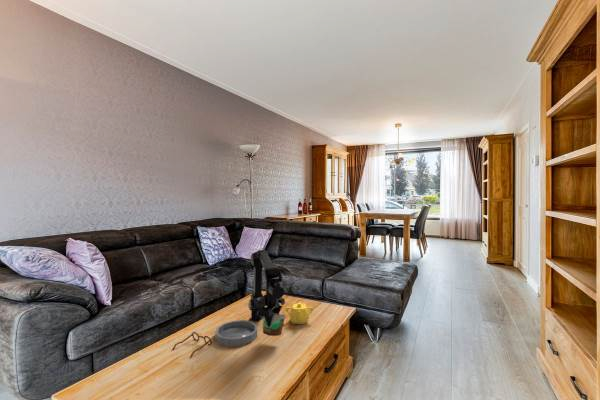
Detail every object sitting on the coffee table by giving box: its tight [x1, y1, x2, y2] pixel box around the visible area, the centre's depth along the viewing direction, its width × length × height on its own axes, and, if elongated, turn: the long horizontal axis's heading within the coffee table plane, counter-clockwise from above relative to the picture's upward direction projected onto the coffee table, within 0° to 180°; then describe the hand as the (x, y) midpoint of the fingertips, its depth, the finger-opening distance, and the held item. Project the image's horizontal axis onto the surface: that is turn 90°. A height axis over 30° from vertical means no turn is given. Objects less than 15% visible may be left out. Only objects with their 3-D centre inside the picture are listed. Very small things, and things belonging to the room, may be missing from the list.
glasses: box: [171, 331, 212, 359], centre depth 139 cm, size 13×13×5 cm
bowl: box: [214, 319, 258, 347], centre depth 151 cm, size 21×21×4 cm
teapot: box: [285, 301, 314, 325], centre depth 168 cm, size 14×13×10 cm
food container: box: [262, 312, 287, 337], centre depth 143 cm, size 12×6×10 cm, turn 69°
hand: (271, 323), depth 144 cm, fingers closed on food container, 6 cm apart
